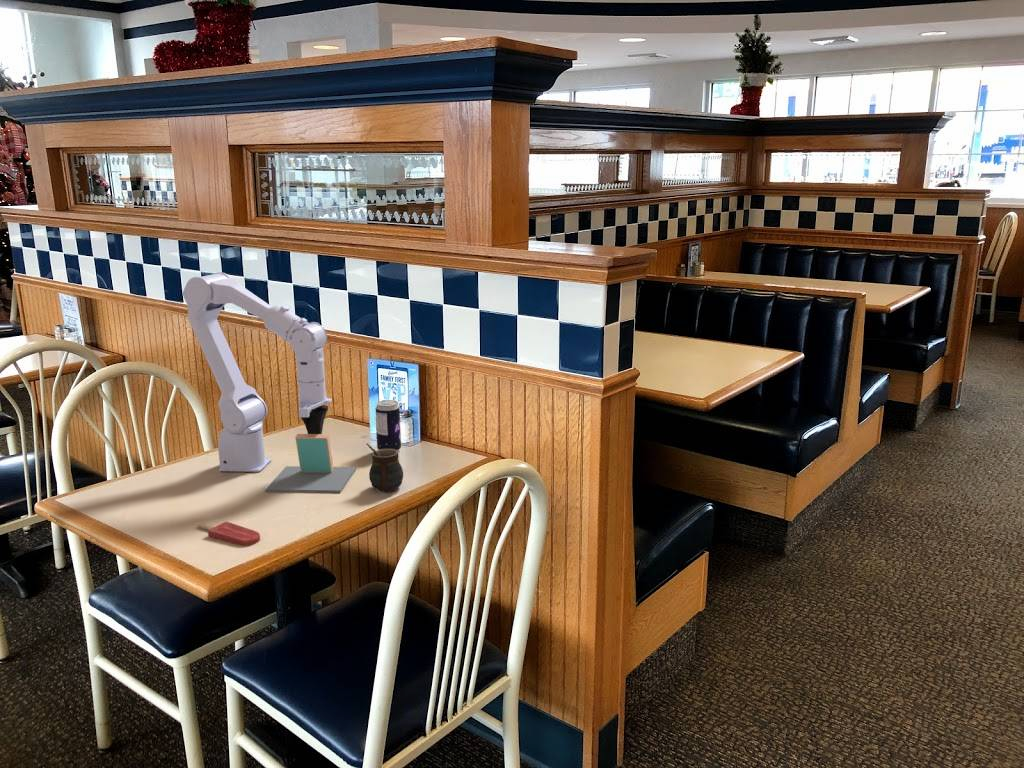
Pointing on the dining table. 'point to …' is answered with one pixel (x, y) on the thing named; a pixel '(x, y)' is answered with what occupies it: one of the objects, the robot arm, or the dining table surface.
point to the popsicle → (232, 533)
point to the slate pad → (311, 480)
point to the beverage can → (388, 425)
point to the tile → (314, 453)
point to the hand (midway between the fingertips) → (315, 439)
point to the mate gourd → (385, 470)
